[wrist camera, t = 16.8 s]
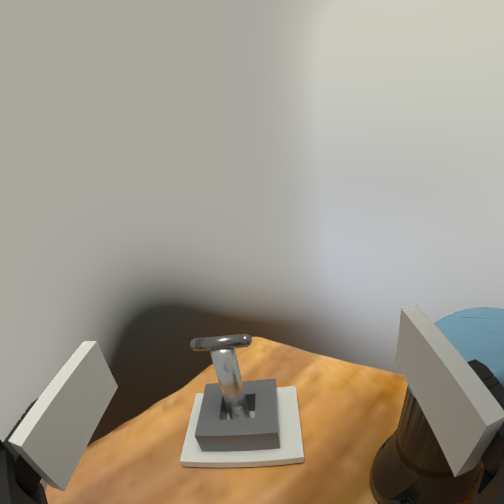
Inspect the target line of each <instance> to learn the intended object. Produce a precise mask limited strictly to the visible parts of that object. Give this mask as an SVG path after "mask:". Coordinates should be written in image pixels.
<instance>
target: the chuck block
mask: <svg viewBox="0 0 504 504" xmlns="http://www.w3.org/2000/svg"><path fill="white" fill-rule="evenodd" d="M242 383H243V387H244V391H245V396H246V400H247V404H248V408H249V412H250V416H251V418H246V419H230V416H229V413H228V410H227V407H226V404H225V401H224V397H223V394H222V391H221V387H220V384H219V383H215V384H206V386H205V391H204V393H196V397H195V401H194V405H193V409H192V413H191V417H190V421H189V425H188V430H187V434H186V438H185V442H184V446H183V450H182V454H181V458H180V462H181V464H182V465H183V466H186V467H213V468H231V467H259V466H273V465H284V464H294V463H302V462H304V454H303V445H302V437H301V428H300V420H299V411H298V403H297V395H296V387H295V386H289V387H281V388H277V387H276V380H275V379H267V380H257V381H245V382H242Z"/></svg>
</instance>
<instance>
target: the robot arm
mask: <svg viewBox="0 0 504 504" xmlns="http://www.w3.org/2000/svg"><path fill="white" fill-rule="evenodd" d="M396 363H397V365H398V366H399V368H400V370H401V372H402V374H403V375H404V377H405V379H406V381H407V383H408V387H407V391H406V396H405V400H404V404H403V409H402V413H401V417H400V420H399V424H398V428H397V430H396V431H395V432H394V433H393V435H392V436H390V437H389V438H388V439H387V440H386V441H385V442H384V444H383V445H382V446H381V448H380V449H379V451H378V452H377V454H376V456H375V459H374V462H373V465H372V469H371V473H370V486H371V490H372V493H373V495H374V497H375V499H376V501H377V502H378V503H379V504H459V503H460V502H461V501H462V500H463V498H464V497H465V496H466V495H467V494H468V493H469V491H470V490H471V489H472V487H473V486H474V484H475V482H476V480H477V479H478V478H479V479H478V482H477V485H476V488H475V491H474V494H473V497H472V499H471V502H470V504H504V309H499V308H488V307H486V308H485V307H484V308H483V307H482V308H472V309H466V310H462V311H458V312H455V313H454V314H452V315H449V316H446V317H444V318H442V319H440V320H439V321H437V322H436V323H433V322H432V321H431V320H430V319H429V317H428V316H427V315H426V314H425V313H424V312H423V311H422V310H421V309H420V308H419V307H418V305H416V306H411V307H406V308H402V309H401V317H400V328H399V338H398V345H397V353H396ZM117 387H118V386H117V384H116V382H115V380H114V378H113V376H112V374H111V372H110V370H109V368H108V366H107V363H106V361H105V359H104V357H103V355H102V353H101V350H100V348H99V346H98V343H97V341H84V342H83V343H82V344H81V346H80V347H79V348H78V349H77V350H76V352H75V353H74V354H73V355H72V356H71V358H70V359H69V360H68V361H67V363H66V364H65V365H64V366H63V368H62V369H61V370H60V371H59V373H58V374H57V375H56V376H55V378H54V379H53V380H52V382H51V383H50V384H49V386H48V387H47V388H46V389H45V391H44V392H43V393H42V395H41V396H40V397H39V398H38V399H36V400H35V401H34V402H33V403H31V405H30V406H29V407H28V409H27V410H26V413H24V414H23V415H22V417H21V420H19V421H18V422H17V424H16V425H15V426H14V428H13V430H12V431H11V432H10V434H9V435H8V437H7V438H6V439H5V441H4V442H2V441H1V440H0V504H48V503H47V499H46V495H45V491H44V488H43V486H42V484H41V483H40V480H41V478H43V480H44V481H45V482H47V484H49V485H50V486H51V487H53V488H56V489H59V490H61V491H65V489H66V487H67V485H68V483H69V481H70V479H71V477H72V475H73V472H74V470H75V468H76V466H77V464H78V462H79V460H80V458H81V456H82V454H83V452H84V450H85V448H86V446H87V444H88V442H89V440H90V438H91V436H92V434H93V432H94V431H95V429H96V427H97V425H98V423H99V421H100V419H101V417H102V415H103V413H104V411H105V410H106V407H107V406H108V404H109V402H110V400H111V398H112V397H113V394H114V393H115V391H116V389H117ZM481 460H482V462H483V464H484V466H483V467H482V468H481V470H480V465H481ZM479 470H480V471H479Z"/></svg>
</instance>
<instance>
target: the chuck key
mask: <svg viewBox="0 0 504 504" xmlns="http://www.w3.org/2000/svg"><path fill="white" fill-rule="evenodd" d="M251 342H252V339H251V337H250V336H249V335H247V334H239V335H229V336H219V337H206V338H195V339H193V340H192V341H191V343H190V345H191V348H192V349H193V350H195V351H204V350H210V352H211V356H212V360H213V363H214V367H215V370H216V374H217V377H218V381H219V384H220V387H221V391H222V394H223V397H224V401H225V404H226V407H227V410H228V413H229V416H230V419H246V418H251V416H250V412H249V408H248V404H247V400H246V396H245V391H244V387H243V383H242V379H241V375H240V370H239V366H238V362H237V357H236V353H235V349H234V348H241V347H248V346H249V345H250V344H251Z"/></svg>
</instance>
